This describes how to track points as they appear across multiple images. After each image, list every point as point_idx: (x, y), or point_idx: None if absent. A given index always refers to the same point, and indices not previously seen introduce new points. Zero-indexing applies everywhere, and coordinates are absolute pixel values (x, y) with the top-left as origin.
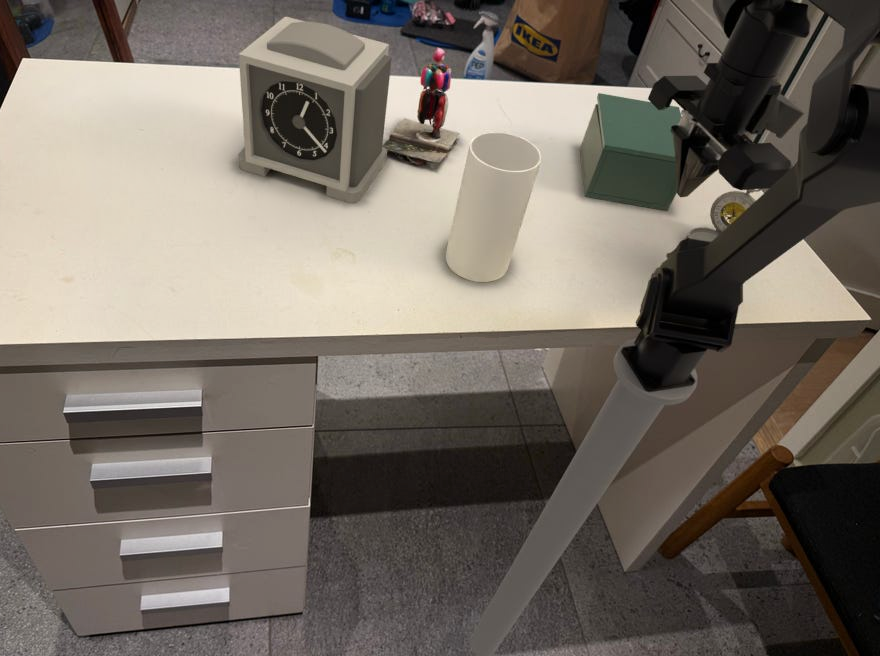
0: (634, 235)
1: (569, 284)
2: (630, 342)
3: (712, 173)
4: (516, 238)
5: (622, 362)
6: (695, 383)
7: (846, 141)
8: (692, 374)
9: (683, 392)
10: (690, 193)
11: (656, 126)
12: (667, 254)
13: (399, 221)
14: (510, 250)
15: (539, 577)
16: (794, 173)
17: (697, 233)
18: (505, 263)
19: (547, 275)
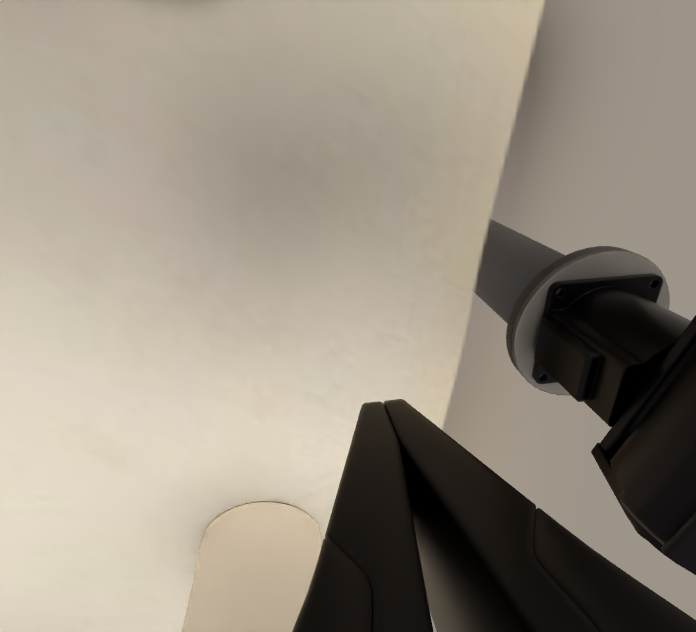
0: (128, 170)
1: (338, 411)
2: (522, 355)
3: (590, 557)
4: (299, 595)
5: (557, 385)
6: (657, 271)
7: None
8: (637, 266)
9: (660, 305)
10: (416, 411)
11: None
12: (668, 554)
13: (154, 627)
14: (309, 576)
15: None
16: None
17: None
18: (311, 547)
19: (307, 443)
